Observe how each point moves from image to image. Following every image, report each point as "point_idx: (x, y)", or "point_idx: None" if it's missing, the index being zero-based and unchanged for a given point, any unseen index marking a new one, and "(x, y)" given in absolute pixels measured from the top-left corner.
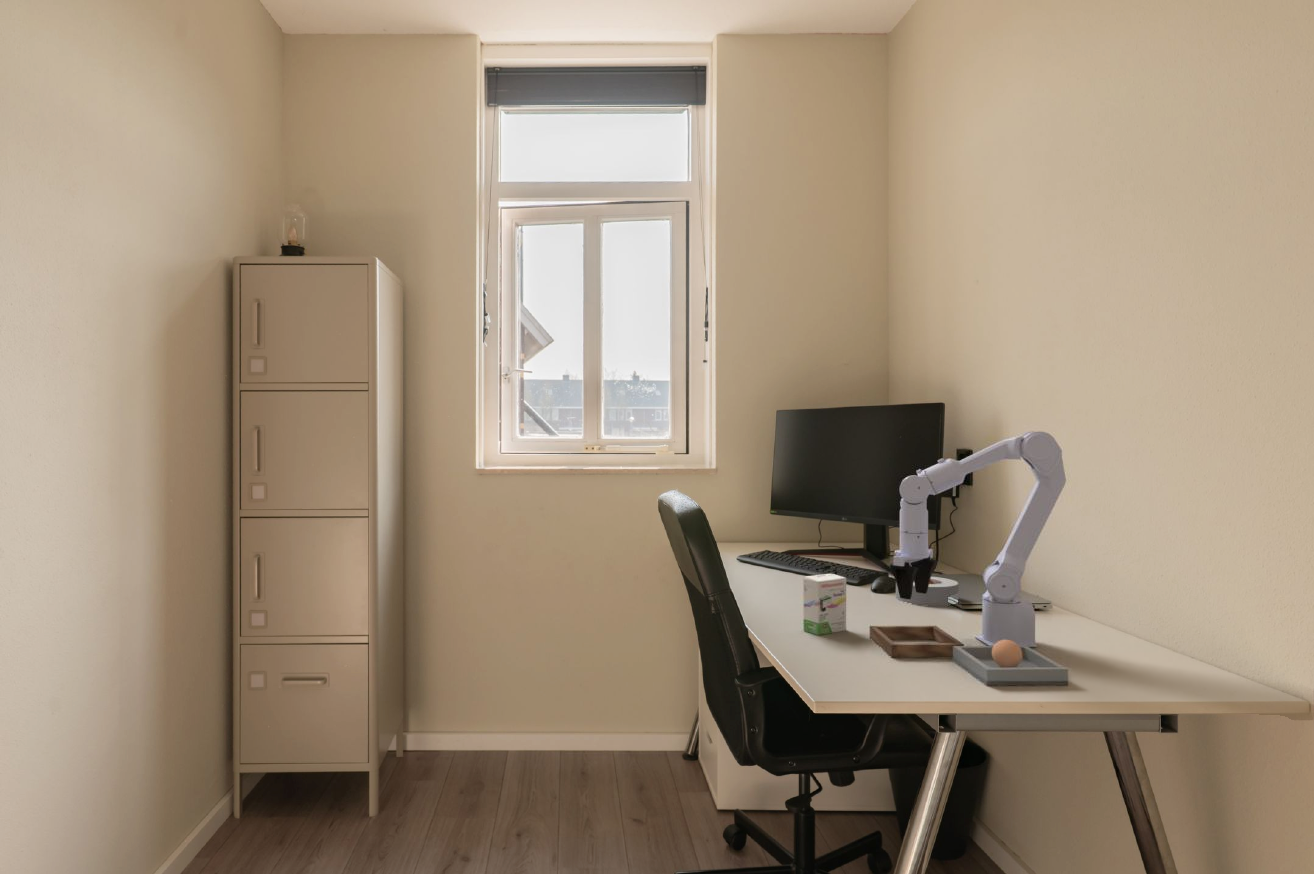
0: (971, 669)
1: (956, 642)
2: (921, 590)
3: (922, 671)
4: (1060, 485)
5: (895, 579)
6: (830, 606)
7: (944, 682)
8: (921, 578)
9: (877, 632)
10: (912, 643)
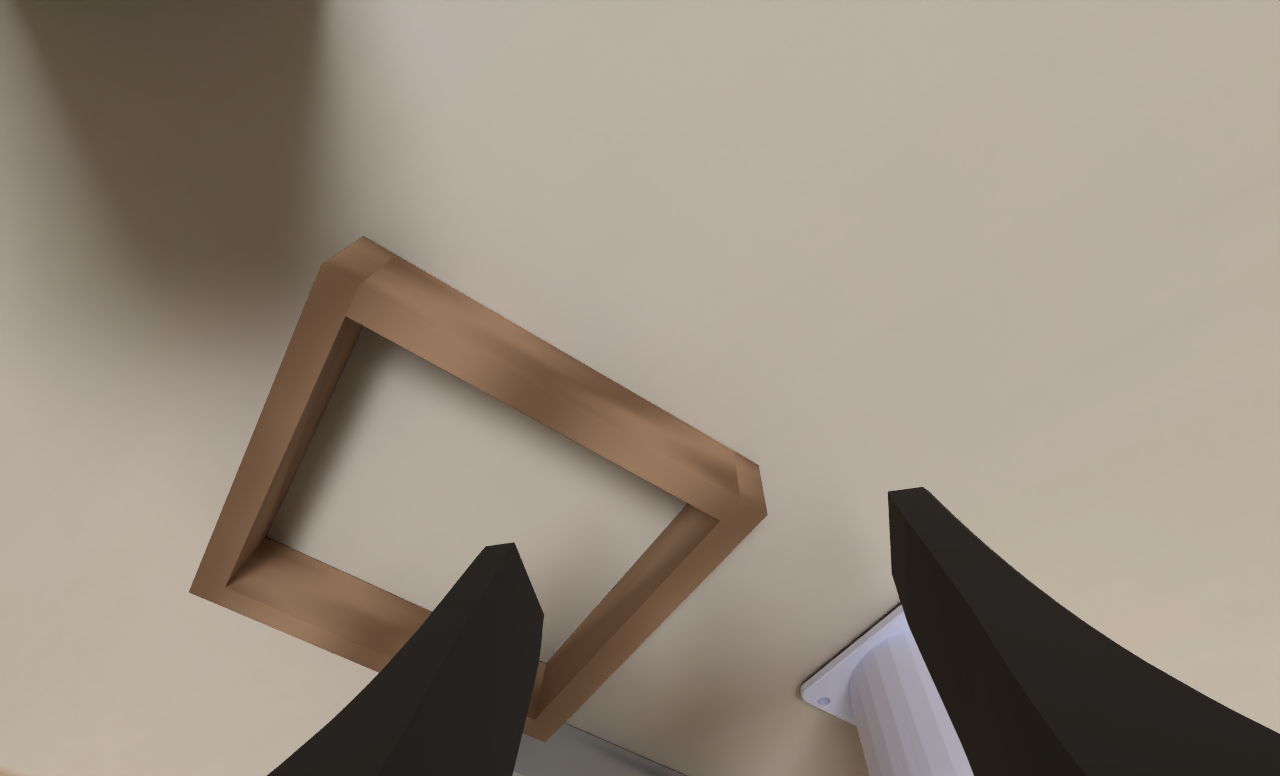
0: None
1: (542, 715)
2: (900, 561)
3: (249, 683)
4: None
5: (339, 714)
6: None
7: (247, 760)
8: (968, 683)
9: (264, 410)
10: (317, 629)
